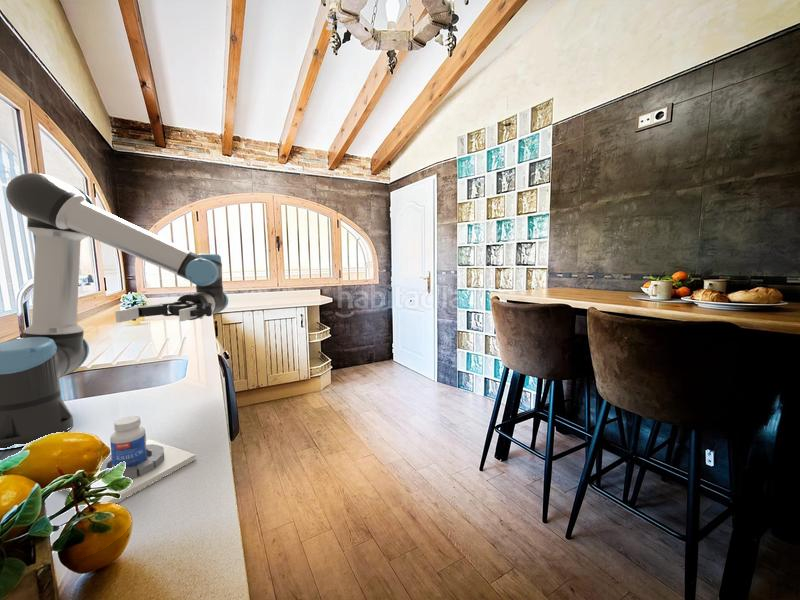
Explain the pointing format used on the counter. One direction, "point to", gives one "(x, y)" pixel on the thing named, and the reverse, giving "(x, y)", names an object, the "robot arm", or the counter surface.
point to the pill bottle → (128, 442)
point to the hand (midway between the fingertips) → (149, 316)
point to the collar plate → (158, 473)
